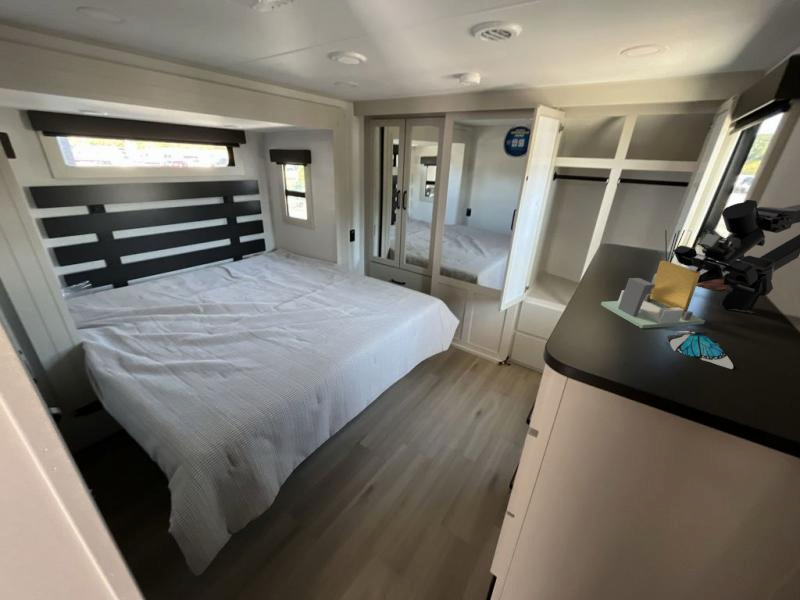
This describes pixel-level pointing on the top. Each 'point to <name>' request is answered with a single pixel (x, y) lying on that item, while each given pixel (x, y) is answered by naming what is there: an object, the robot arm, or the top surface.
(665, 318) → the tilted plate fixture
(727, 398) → the top surface
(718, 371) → the top surface
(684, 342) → the decorative butterfly
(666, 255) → the reed diffuser
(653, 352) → the top surface
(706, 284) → the brown piece
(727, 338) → the top surface
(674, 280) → the gold rectangular plate
